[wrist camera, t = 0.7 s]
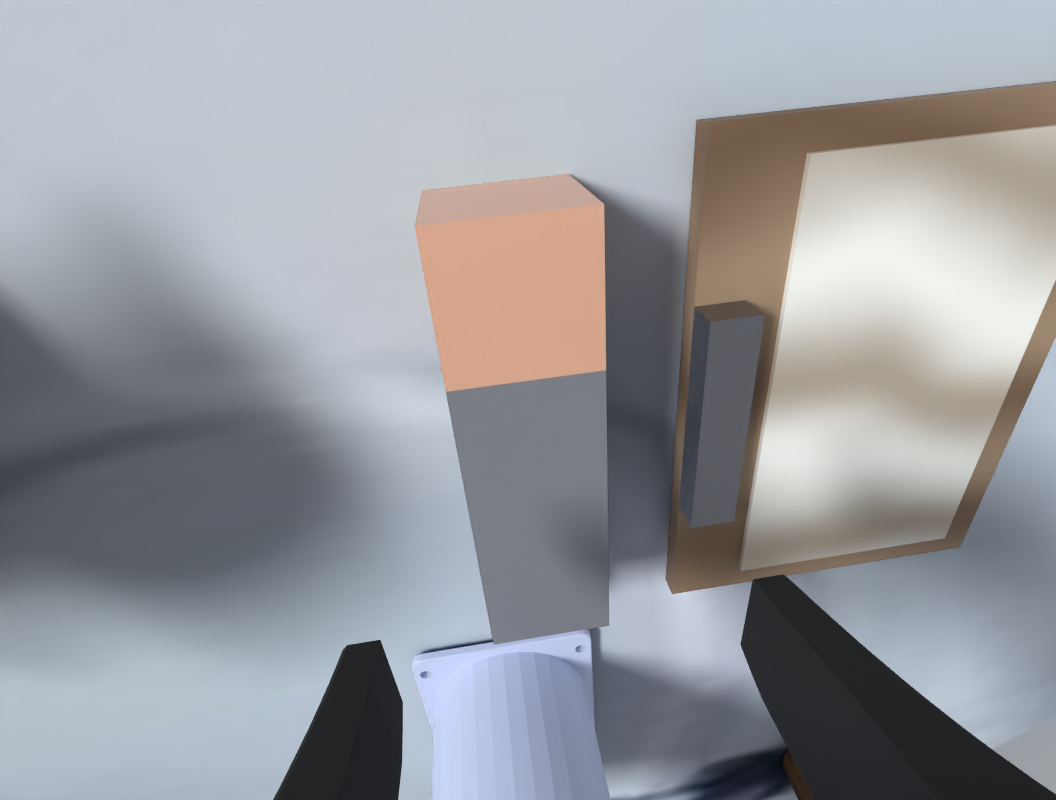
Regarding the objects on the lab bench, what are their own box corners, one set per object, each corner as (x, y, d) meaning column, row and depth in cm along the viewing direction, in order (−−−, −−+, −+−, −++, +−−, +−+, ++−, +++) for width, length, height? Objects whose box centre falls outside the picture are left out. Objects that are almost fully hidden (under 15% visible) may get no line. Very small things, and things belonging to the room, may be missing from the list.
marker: (585, 561, 23) (609, 647, 20) (490, 576, 23) (497, 665, 19) (568, 173, 15) (604, 204, 12) (422, 190, 15) (414, 225, 11)
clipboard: (945, 533, 25) (982, 568, 23) (665, 579, 24) (682, 617, 22) (1144, 71, 16) (1229, 71, 14) (696, 120, 15) (729, 126, 13)
